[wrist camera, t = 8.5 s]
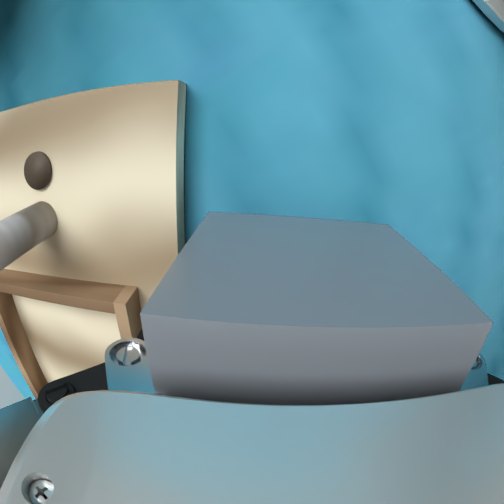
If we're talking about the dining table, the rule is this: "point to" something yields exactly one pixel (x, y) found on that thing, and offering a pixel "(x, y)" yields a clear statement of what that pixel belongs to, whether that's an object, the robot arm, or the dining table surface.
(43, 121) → the board
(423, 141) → the dining table surface
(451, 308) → the gray cube
